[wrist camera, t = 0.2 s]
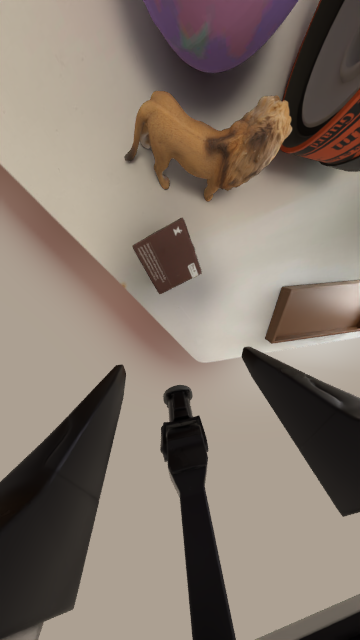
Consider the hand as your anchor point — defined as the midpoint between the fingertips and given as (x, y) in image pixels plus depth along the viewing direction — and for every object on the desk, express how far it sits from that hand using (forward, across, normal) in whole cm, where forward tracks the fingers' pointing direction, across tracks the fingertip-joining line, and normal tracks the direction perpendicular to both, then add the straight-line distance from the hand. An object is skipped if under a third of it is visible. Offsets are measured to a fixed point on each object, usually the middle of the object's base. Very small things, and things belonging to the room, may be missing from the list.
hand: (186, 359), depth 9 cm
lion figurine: (+16, -4, -16) cm, 23 cm away
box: (+16, 0, -6) cm, 18 cm away
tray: (+16, -37, +7) cm, 41 cm away
